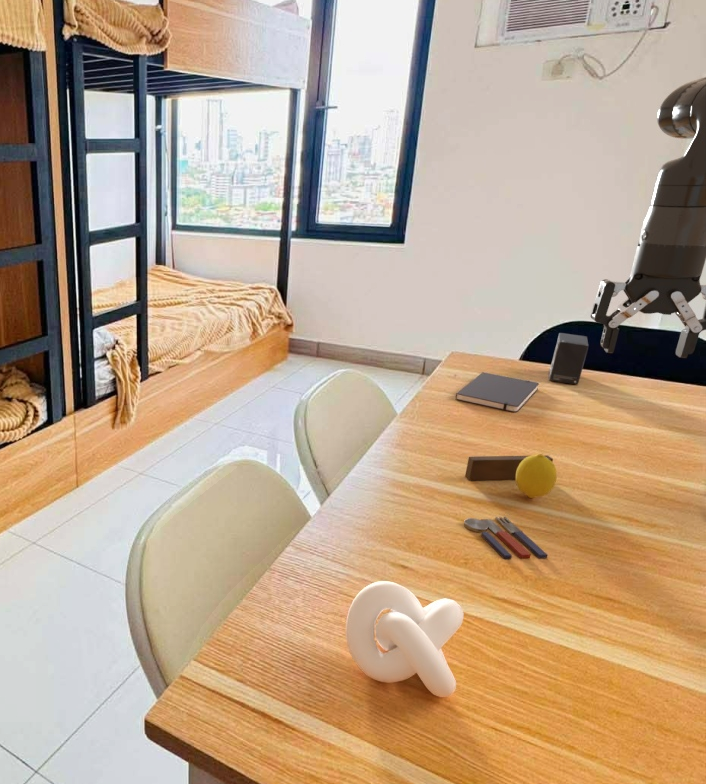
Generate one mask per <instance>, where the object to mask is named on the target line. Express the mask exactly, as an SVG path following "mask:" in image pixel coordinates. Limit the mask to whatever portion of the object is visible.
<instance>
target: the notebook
mask: <svg viewBox="0 0 706 784" xmlns="http://www.w3.org/2000/svg"><path fill="white" fill-rule="evenodd" d="M539 385H540V383H539V382H537V381H532V380H527V379H521V378H515V377H511V376H505V375H499V374H495V373H488V372H485V371H482V372H481V373H479V374H478V375H477V376H476V377H475V378H474V379H472V380H471V381H470V382H468V383H467V384H466V385H465V386H464V387H462V388H461V389H460V390H459V391H457V392H456V394H455V400H457V401H461V402H466V403H469V404H474V405H479V406H483V407H486V408H487V407H489V408H492V409H497V410H502V411H506V412H511V413H518V412H519V411H520V410H521V408H522V407H524V405H525V404H526V403H527V402H528V401H529V400H530V399H531V397H533V395H535V393H536V392H537V391H538V390H539V389H538V386H539Z"/></svg>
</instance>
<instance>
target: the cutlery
mask: <svg viewBox="0 0 706 784" xmlns="http://www.w3.org/2000/svg"><path fill="white" fill-rule="evenodd" d="M494 520H495V521H496V522H497V523H498V524H499V525H500V526H501V527H502V528H503V529H504V530H503V529H502V528H501V527H500V526H499V525H498V524H497V523H496V522H495V521H493V519H491V518H483V519H481V518H480V519H479V518H473V517H467V518H466V519H464V521H463V526H464V528H465V529H467V530H468V531H471V532H474V533H480V536H481V537H482V538H483V540H485V542H487V543H488V545H490V546H491V547H492V548H493V550H494V551H496V553H498V555H500V556H501V557H502V558H503V560H511V559H512V557H513V555H512V554H511V553H510V552H509V551H508V550H507V549H506V548H505V547H504V546H503V545H502V544H501V543H500V542H499V541H498V540H497V539H495V537H494V536H492V535H491V534H490V533H489V531H490V532H491V533H492V534H493V535H495V536H496V537H497V538H498V539H500V541H501V542H503V544H504V545H506V546H507V547H508V548H509V549H510V550H511V552H513V553H514V554H515V555H516V556H517V557H518V558H519V559H520V560H521V559H523V560H524V559H528V560H529V559H531V557H532V554H533V555H535V557H536V558H538V559H548V556H549V554H548V553H547V552H546V551H544V550H543V549H542V548H541V547H540V546H538V544H536V543H535V542H534V541H533V540H532V538H530V537H529V536H528V535H526V534H525V533H524V532H523V531H522V530H521V529H520V528H519V527H518V526H517V525H516V524H515V523H513V521H511V520H509V518H508V517H506V516H503V517H502V516H499V517H497V516H495V517H494ZM488 530H489V531H488ZM513 536H514V537H515V538H516V539H517V540H518V541H519V542H518V541H517V540H516V539H515V538H514V537H513ZM521 543H522V545H521ZM524 546H525V547H526V548H525V547H524ZM527 549H528V550H529V551H530V552H531V553H532V554H531V553H530V552H529V551H528V550H527Z"/></svg>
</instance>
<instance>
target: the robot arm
mask: <svg viewBox="0 0 706 784" xmlns="http://www.w3.org/2000/svg"><path fill="white" fill-rule="evenodd" d="M656 121H657V125H658V127H659V129H660V131H661V132H663V133H664V134H665V135H667V136H669V137H671V138H675V139H681V140H683V139H685V140H687V139H692V141H691V143H690V144H689V146H688V148H687V150H686V151H685V153H684V154H683V155H682V156H681V157H678V158H675V159H671V160H669V161H666V162H665V163H664V164H662V165H661V167H660V168H659V170H658V173H657V175H656V178H655V182H654V186H653V190H652V195H651V198H650V202H649V207H648V210H647V212H646V215H645V217H644V219H643V222H642V225H641V230H640V234H639V238H638V240H637V241H638V242H637V246H636V250H635V253H634V257H633V262H632V266H631V269H630V275H629V277H628V278H627V280H626V281H612V280H610V279H608V278H607V279H602V280H601V281H600V283H599V286H598V290H597V292H596V296H595V299H594V302H593V306H592V309H591V312H590V319H592V320H593V321H594V322H595V323H597V324H601V325H603V329H602V330H603V331H602V334H601V339H600V343H599V344H600V347H601V348H602V349H603V350H604V351H605V353H608V354H613V353H614V352H615V349H616V345H617V341H618V337H619V333H620V328H618V327H619V326H620V325H622V323H624V322H626V320H628V319H630V318H632V317H634V315H636V314H637V313H639V312H640V313H642V314H644V315H645V314H646V315H650V314H651V315H652V314H661V315H665V316H666V315H667V316H668V315H669V316H671V315H672V314H675V315H676V316H677V317H678V318H679V320H680V322H681V323H682V324H683V326H684V328H681V330H680V334H679V339H678V342H677V345H676V348H675V355H676V356H677V357H678V358H680V359H681V358H682V359H687V358H688V355H692V354H693V353H694V352H695V349H696V346H697V344H698V339H699V337H700V334H701V333H702V332H704V331H706V303H705V306H704V310H703V314H702V318H700V319H698V318H697V316H696V313H695V312H694V310H693V309H692V307H691V306H690V304H689V303H690V302H691V301H693V300H694V299H695V298H696V297H698V296H699V295H700V294H701V296H702V299H703V300H704V301H706V284H701V281H700V280H701V277H702V275H703V270H704V267H705V265H706V264H705V263H706V76H705V77H701V78H698V79H694V80H692V81H689V82H686V83H684V84H683V85H680V86H679V87H677V88H675V89H674V90H673V91H672V92H670V93H669V94H668V95H667V96H666V98H664V100H663V101H662V102H661V104H660V105H659V108H658V111H657V116H656ZM621 291H623V292H624V294H625V295H626V297H627V298H626V299H625V300H624V301H622V302H621V303H620V304H619V305H618V306H617V307H616V308H615V309H614V310H613V311H612V312H611V313H609V314H608V311H609V308H610V304H611V301H612V298H614V297H616V296H618V295H619V293H620V292H621ZM607 314H608V315H607Z"/></svg>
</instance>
